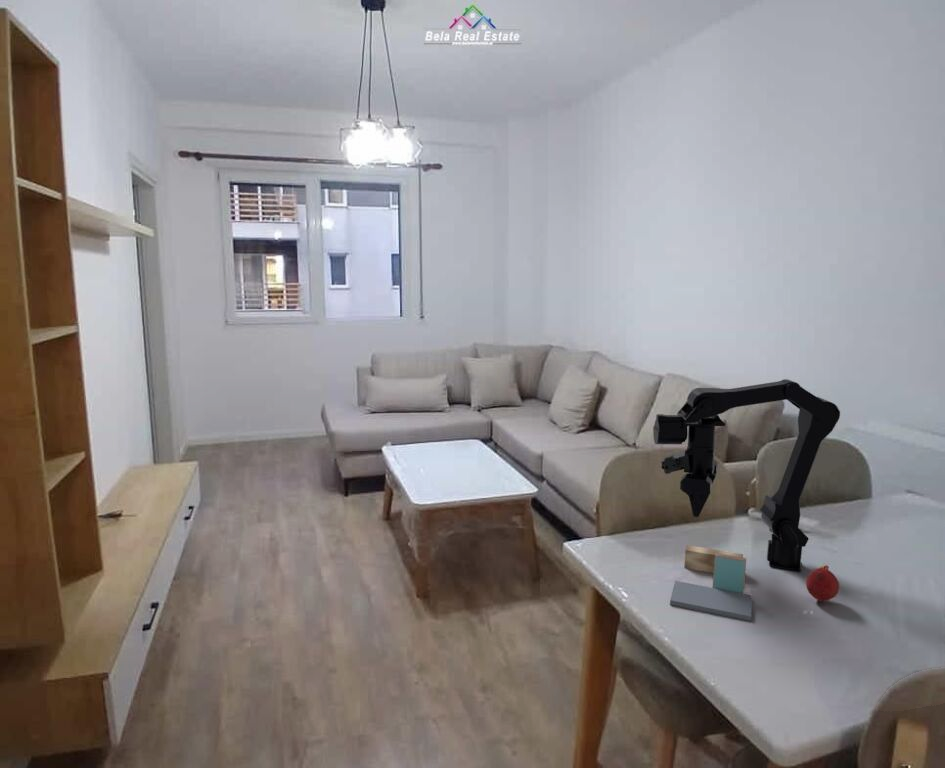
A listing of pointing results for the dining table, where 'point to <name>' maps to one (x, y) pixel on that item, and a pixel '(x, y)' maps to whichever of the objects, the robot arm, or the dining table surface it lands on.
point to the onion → (822, 584)
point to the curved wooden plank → (703, 558)
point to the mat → (711, 600)
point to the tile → (729, 573)
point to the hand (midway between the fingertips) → (698, 509)
